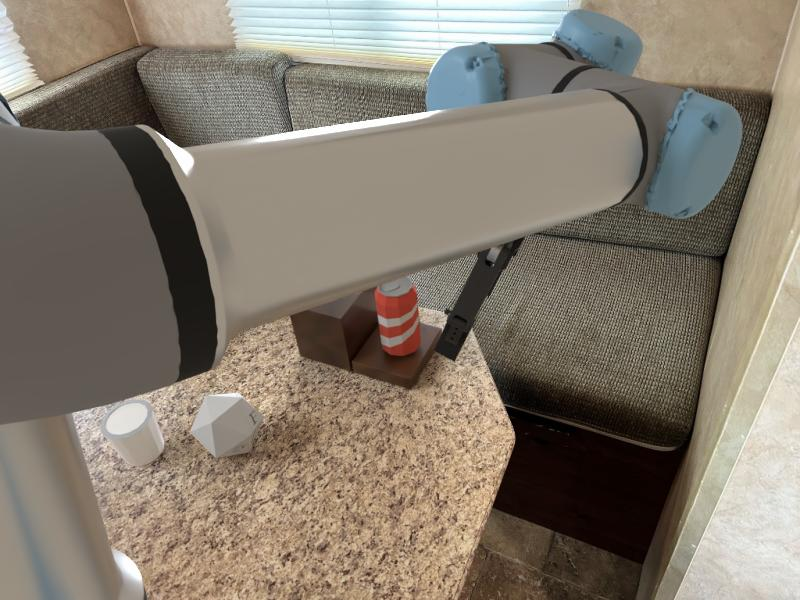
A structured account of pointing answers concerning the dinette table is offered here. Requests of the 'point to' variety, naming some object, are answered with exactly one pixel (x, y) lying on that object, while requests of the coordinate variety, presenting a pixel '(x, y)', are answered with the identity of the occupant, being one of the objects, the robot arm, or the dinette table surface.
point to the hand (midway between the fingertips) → (464, 320)
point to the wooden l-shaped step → (359, 340)
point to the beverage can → (398, 316)
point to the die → (226, 424)
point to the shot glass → (133, 432)
